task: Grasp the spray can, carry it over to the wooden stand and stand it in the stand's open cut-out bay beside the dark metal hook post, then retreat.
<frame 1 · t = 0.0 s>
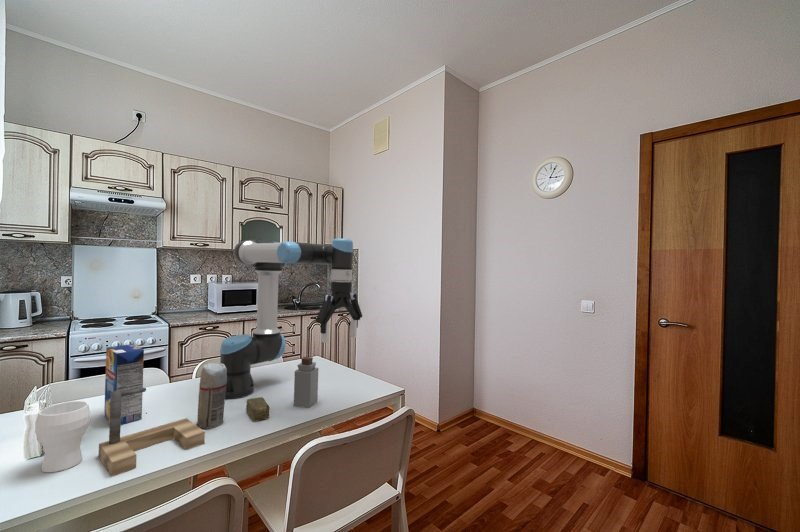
hand: (339, 339, 127), 28 cm above the table, fingers open, 13 cm apart
wooden stand: (153, 449, 101), on the table
stone block: (257, 416, 126), on the table
cup: (62, 464, 93), on the table
juice carton: (122, 418, 120), on the table
perfume bottle: (305, 404, 138), on the table
spray can: (210, 424, 118), on the table
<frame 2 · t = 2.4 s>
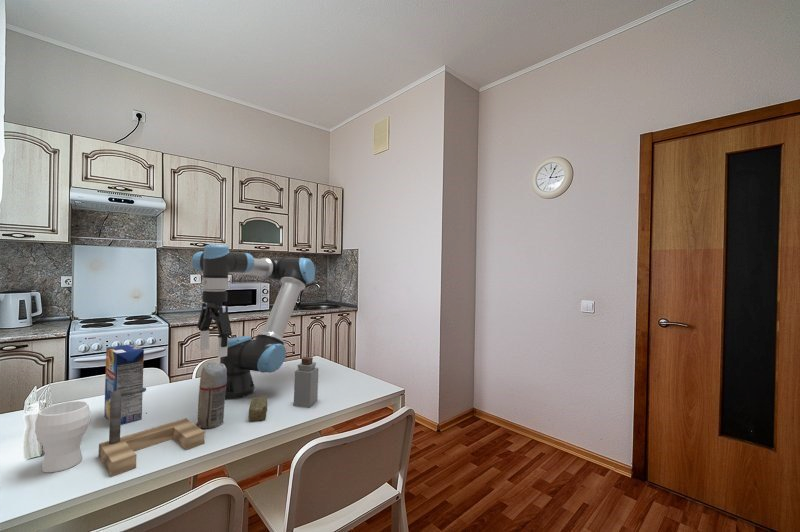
hand: (213, 353, 118), 24 cm above the table, fingers open, 13 cm apart
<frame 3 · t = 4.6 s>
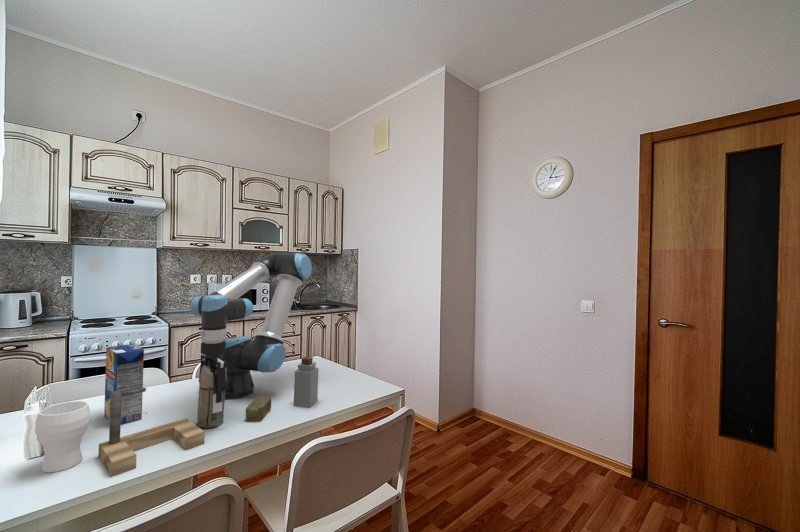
hand: (211, 408, 118), 5 cm above the table, fingers closed on spray can, 8 cm apart
spray can: (210, 424, 118), on the table, touching gripper
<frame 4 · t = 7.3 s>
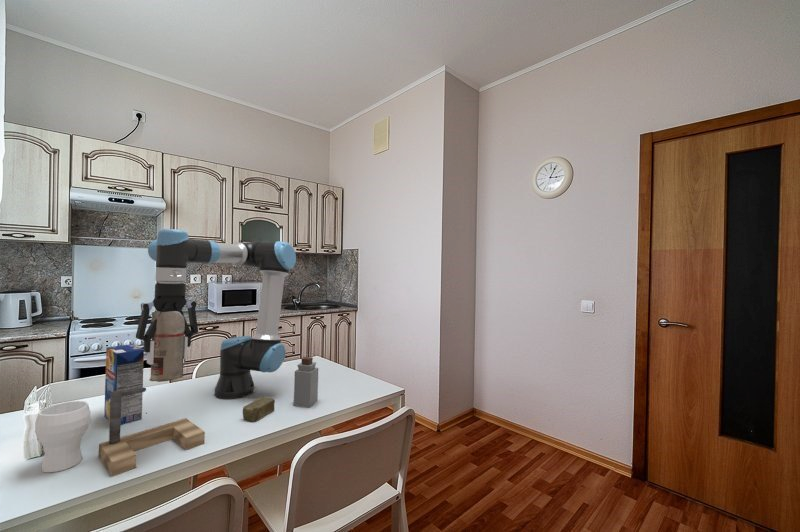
hand: (167, 360, 101), 26 cm above the table, fingers closed on spray can, 8 cm apart
spray can: (166, 379, 101), point 20 cm above the table, touching gripper
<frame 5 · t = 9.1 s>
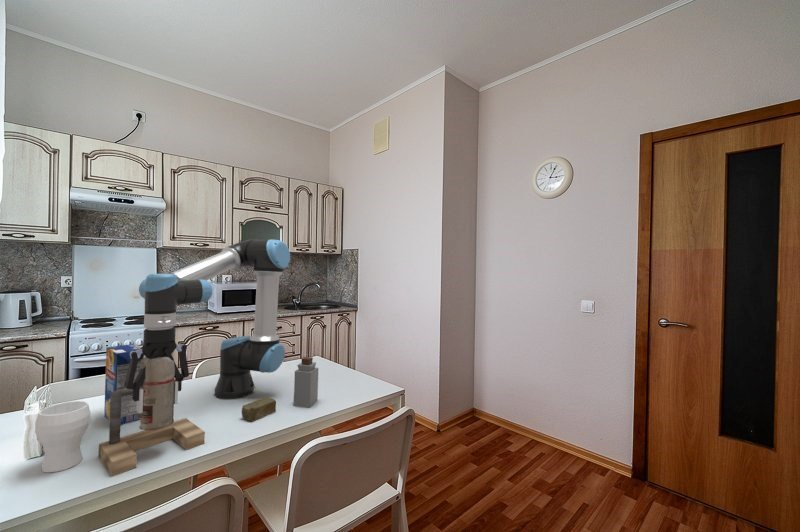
hand: (157, 406, 100), 13 cm above the table, fingers closed on spray can, 8 cm apart
spray can: (156, 425, 100), point 8 cm above the table, touching gripper
when the fingers open (7 cm above the table, at t = 10.4 s): spray can drops 2 cm, on the table.
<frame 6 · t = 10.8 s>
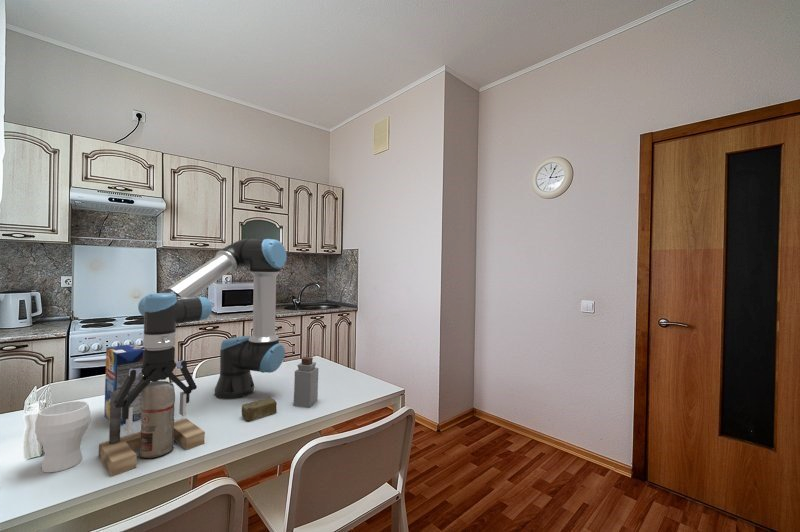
hand: (157, 422, 100), 9 cm above the table, fingers open, 12 cm apart
spray can: (156, 452, 100), on the table
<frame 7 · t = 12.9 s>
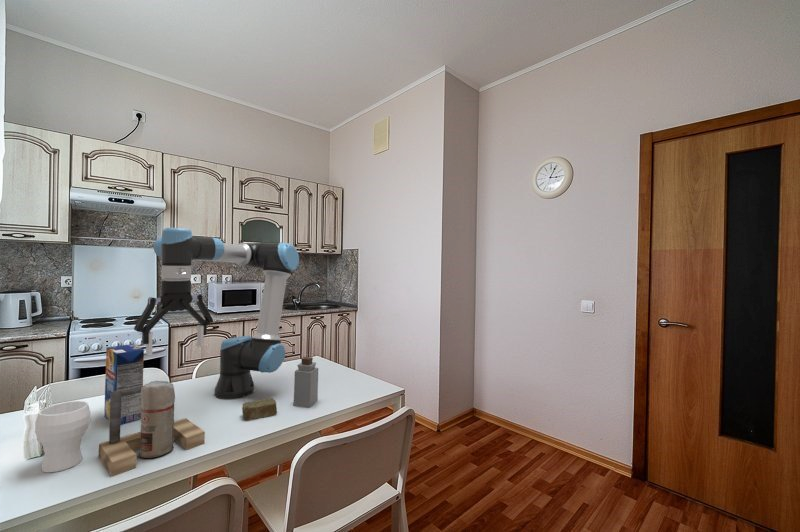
hand: (176, 350, 105), 28 cm above the table, fingers open, 13 cm apart
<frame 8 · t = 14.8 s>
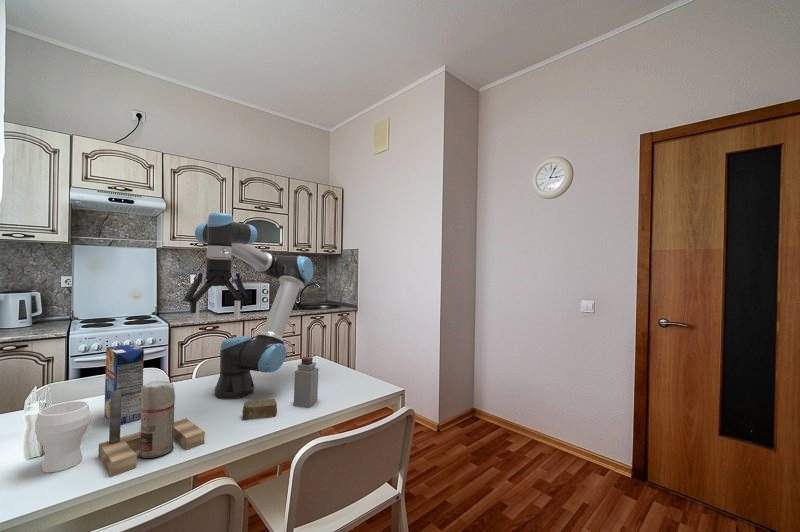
hand: (217, 321, 119), 35 cm above the table, fingers open, 13 cm apart
at the end: spray can inside the target area on the wooden stand (0.5 cm from its centre), point 0.0 cm above the wooden stand's base; spray can tilted 0°; spray can touching table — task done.
